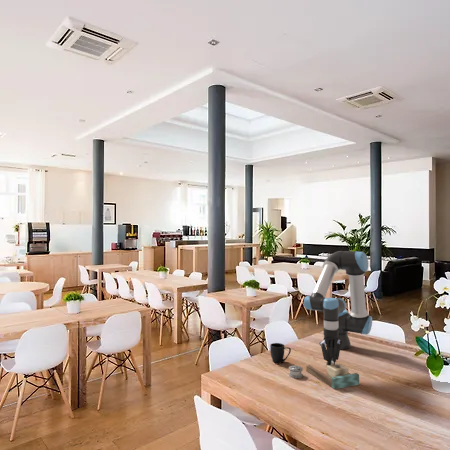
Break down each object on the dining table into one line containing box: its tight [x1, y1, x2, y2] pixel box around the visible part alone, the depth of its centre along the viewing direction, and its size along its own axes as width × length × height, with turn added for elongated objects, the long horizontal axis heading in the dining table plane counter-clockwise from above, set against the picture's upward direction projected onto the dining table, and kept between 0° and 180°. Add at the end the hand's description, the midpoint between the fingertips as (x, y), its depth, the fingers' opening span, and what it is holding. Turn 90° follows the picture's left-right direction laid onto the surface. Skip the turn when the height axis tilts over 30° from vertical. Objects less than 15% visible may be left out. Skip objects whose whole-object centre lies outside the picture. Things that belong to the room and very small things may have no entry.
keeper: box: [326, 363, 349, 378], centre depth 186 cm, size 8×7×8 cm
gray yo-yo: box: [288, 365, 304, 379], centre depth 193 cm, size 7×7×4 cm
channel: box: [305, 361, 360, 390], centre depth 190 cm, size 15×24×5 cm, turn 20°
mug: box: [269, 342, 292, 364], centre depth 213 cm, size 8×12×10 cm
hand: (331, 373), depth 190 cm, fingers closed
